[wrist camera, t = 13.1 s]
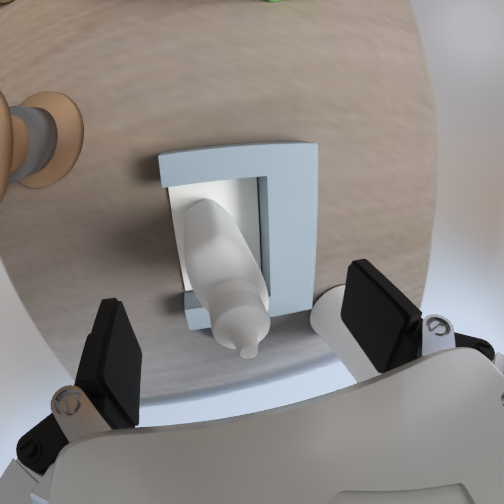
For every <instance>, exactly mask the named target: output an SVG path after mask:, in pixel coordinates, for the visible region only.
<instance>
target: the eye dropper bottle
mask: <svg viewBox="0 0 504 504" xmlns="http://www.w3.org/2000/svg"><path fill="white" fill-rule="evenodd" d="M184 258H185V265H186V271H187V275H188V278H189V281H190V284H191V287H192V289H193V291H194V293H195V295H196V297H197V298H198V300H199V302H200V303H201V304H202V306H203V307H204V308H205V309H206V310H207V311H208V312H209V316H210V322H211V329H212V333H213V336H214V338H215V340H216V341H217V342H218V343H219V344H220V345H222V346H224V347H227V348H230V349H237V351H238V353H239V355H240V356H241V357H242V358H243V359H251V358H254V357H255V356H256V355H257V354H258V343H259V342H260V341H261V340H262V339H264V337H265V336H266V335H267V333H268V332H269V328H270V317H269V315H268V313H267V311H268V306H269V299H268V291H267V287H266V283H265V280H264V278H263V276H262V273H261V271H260V269H259V267H258V265H257V263H256V261H255V259H254V257H253V255H252V253H251V251H250V249H249V247H248V245H247V243H246V241H245V239H244V237H243V235H242V233H241V231H240V230H239V228H238V226H237V224H236V222H235V221H234V219H233V218H232V217H231V215H230V214H229V213H228V212H227V211H226V210H225V209H224V208H223V207H222V206H221V205H220V204H218V203H217V202H215V201H214V200H211V199H206V200H203V201H201V202H200V203H198V204H196V205H194V206H193V207H191V208H190V209H188V210H187V211H186V213H185V218H184Z"/></svg>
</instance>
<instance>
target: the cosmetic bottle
mask: <svg viewBox="0 0 504 504" xmlns="http://www.w3.org/2000/svg"><path fill="white" fill-rule="evenodd" d="M344 290H345V285H341V286H337V287H335V288H333V289H331V290H329V291H327V292H326V293H325V294H323V295H322V296H321V297H320V298H319V299H318V301H317V302H316V303H315V305H314V307H313V308H312V311H311V314H310V324H311V326H312V328H313V330H314V331H315V332H316V333H317V334H318V335H319V336H320V337H321V338H322V339H323V340H324V341H325V342H326V343H327V344H328V345H329V346H330V348H331V349H332V350H333V351H334V352H335V354H336V355H337V356H338V357H339V358H340V360H341V361H342V362H343V364H344V365H345V366H346V368H347V369H348V370H349V372H350V373H351V374H352V376H353V377H354V378H355V380H356V381H357V383H360V382H362V381H365V380H368V379H370V378H373V377H375V376H378V375H380V374H382V373H378V372H377V370H376V369H375V367H374V366H373V364H372V363H371V362H370V360H369V359H368V357H367V356H366V354H365V353H364V351H363V350H362V349H361V347H360V346H359V344H358V343H357V341H356V340H355V338H354V337H353V336H352V334H351V333H350V331H349V330H348V329H347V327H346V326H345V324H344V323H343V321H342V320H341V316H340V313H341V307H342V302H343V296H344Z"/></svg>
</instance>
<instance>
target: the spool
mask: <svg viewBox="0 0 504 504" xmlns="http://www.w3.org/2000/svg"><path fill="white" fill-rule="evenodd" d="M83 137H84V126H83V120H82V116H81V113H80V111H79V109H78V107H77V105H76V104H75V103H74V102H73V101H72V100H71V99H70V98H69V97H67V96H65V95H63V94H60V93H56V92H50V91H45V92H39V93H37V94H34V95H32V96H30V97H29V98H27V99H26V100H25V101H23V102H22V103H21V104H20V105H19V106H12V107H9V106H8V103H7V101H6V99H5V97H4V95H3V94H2V92H1V91H0V203H1V202H2V199H3V197H4V194H5V192H6V189H7V186H8V184H10V183H13V182H15V181H18V182H20V183H21V184H23V185H25V186H27V187H30V188H42V187H46V186H49V185H51V184H53V183H55V182H57V181H59V180H60V179H62V178H63V177H64V176H65V175H66V174H67V173H68V172H69V171H70V170H71V169H72V167H73V166H74V164H75V163H76V161H77V159H78V157H79V154H80V152H81V148H82V144H83Z"/></svg>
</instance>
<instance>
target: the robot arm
mask: <svg viewBox="0 0 504 504" xmlns="http://www.w3.org/2000/svg"><path fill="white" fill-rule="evenodd" d="M421 315H422V312H421V311H420V310H419V309H418V308H417V307H416V306H415V305H414V304H413V303H412V302H411V301H410V300H409V299H408V298H407V297H406V296H405V295H404V294H403V293H402V292H401V291H400V290H399V289H398V288H397V287H396V286H395V285H393V284H392V283H391V282H390V281H389V280H388V279H387V278H386V277H385V276H384V275H383V274H382V273H381V272H380V271H379V270H377V269H376V268H375V267H374V266H373V265H372V264H371V263H370V262H369V261H368V260H366V259H360V260H355V261H352V263H351V265H349V267H348V272H347V278H346V284H345V290H344V296H343V302H342V307H341V313H340V316H341V320H342V321H343V323H344V324H345V326H346V327H347V329H348V330H349V331H350V333H351V334H352V336H353V337H354V338H355V340H356V341H357V343H358V344H359V346H360V347H361V349H362V350H363V351H364V353H365V354H366V356H367V357H368V359H369V360H370V362H371V363H372V364H373V366H374V367H375V369H376V370H377V372H378V373H382V374H380V375H378V376H375V377H373V378H370V379H368V380H365V381H362V382H360V383H357V384H354V385H351V386H349V387H346V388H343V389H340V390H337V391H334V392H331V393H327V394H324V395H321V396H318V397H314V398H311V399H308V400H304V401H301V402H297V403H293V404H289V405H285V406H281V407H277V408H273V409H269V410H264V411H260V412H255V413H250V414H245V415H240V416H234V417H229V418H223V419H217V420H209V421H202V422H194V423H186V424H176V425H167V426H154V427H139V428H135V426H138V424H139V400H140V379H141V364H142V352H141V348H140V346H139V344H138V341H137V339H136V337H135V334H134V332H133V329H132V327H131V324H130V322H129V319H128V316H127V314H126V311H125V309H124V306H123V303H122V302H121V301H118V300H117V299H116V298H110V299H103V300H102V301H101V304H100V306H99V309H98V313H97V316H96V319H95V322H94V325H93V328H92V332H91V333H90V334H89V335H88V336H87V339H86V342H85V346H84V349H83V353H82V356H81V360H80V364H79V368H78V372H77V376H76V380H75V384H74V386H72V385H69V386H64V387H62V388H60V389H59V390H58V391H57V392H56V393H55V394H54V396H53V397H52V400H51V410H52V413H51V414H50V415H49V416H47V417H46V418H45V419H44V420H42V421H41V422H40V423H39V424H37V425H36V426H35V427H33V428H32V429H31V430H30V431H29V432H27V433H26V434H25V435H24V436H22V437H21V438H20V440H19V441H18V444H17V448H16V452H17V457H18V458H17V460H14V459H12V461H11V463H10V464H9V466H8V467H7V469H6V470H5V472H4V473H3V475H2V477H1V478H0V504H504V355H502V354H500V353H498V352H497V354H496V355H495V352H494V349H493V347H492V346H491V345H490V344H489V343H488V342H487V341H485V340H483V339H479V338H475V337H471V336H467V335H463V334H459V333H455V332H454V329H453V325H452V324H451V323H450V321H449V320H447V319H446V318H444V317H442V316H439V315H428V316H426V317H425V318H424V320H423V319H422V318H421Z"/></svg>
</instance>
